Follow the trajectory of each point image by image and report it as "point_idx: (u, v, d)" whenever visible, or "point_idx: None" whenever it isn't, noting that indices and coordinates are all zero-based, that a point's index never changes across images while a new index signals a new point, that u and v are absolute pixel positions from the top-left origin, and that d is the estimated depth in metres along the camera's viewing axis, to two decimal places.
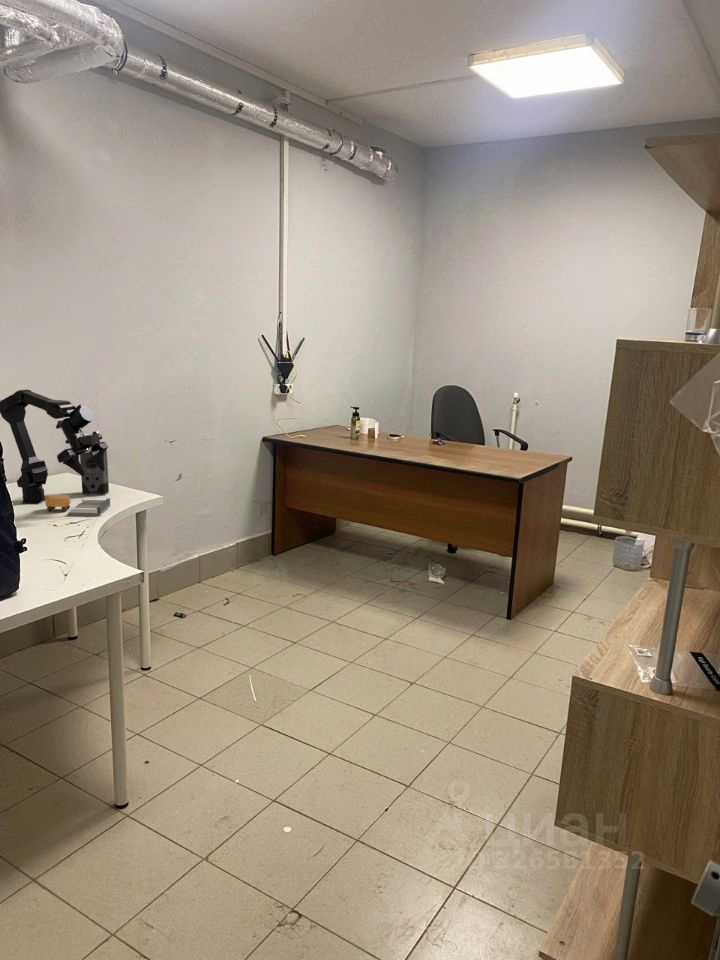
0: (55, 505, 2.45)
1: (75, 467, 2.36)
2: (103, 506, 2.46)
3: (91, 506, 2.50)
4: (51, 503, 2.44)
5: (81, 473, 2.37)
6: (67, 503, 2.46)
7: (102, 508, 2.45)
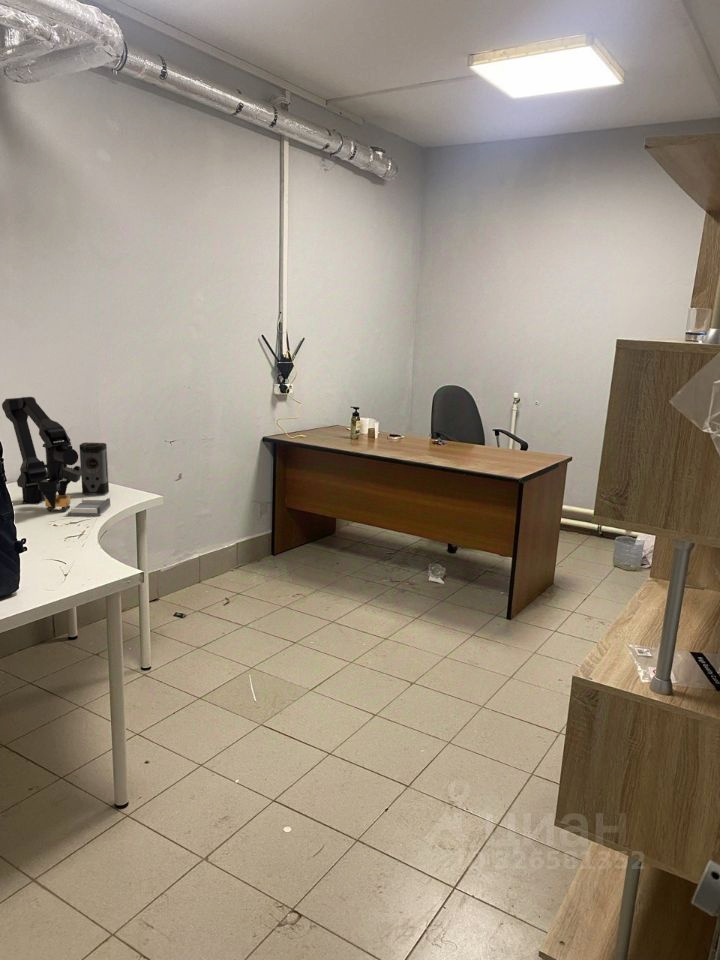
0: (55, 505, 2.45)
1: (50, 497, 2.40)
2: (103, 506, 2.46)
3: (91, 506, 2.50)
4: None
5: (52, 504, 2.42)
6: (67, 503, 2.46)
7: (102, 508, 2.45)
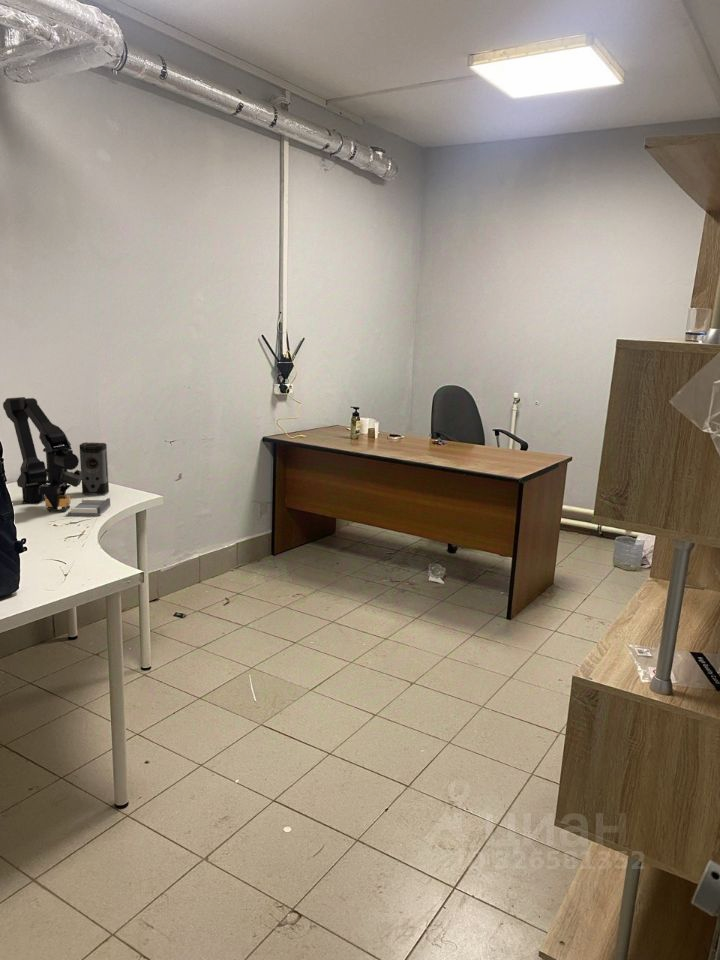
0: None
1: (52, 500, 2.43)
2: (103, 506, 2.46)
3: (91, 506, 2.50)
4: None
5: (55, 507, 2.44)
6: (67, 503, 2.46)
7: (102, 508, 2.45)
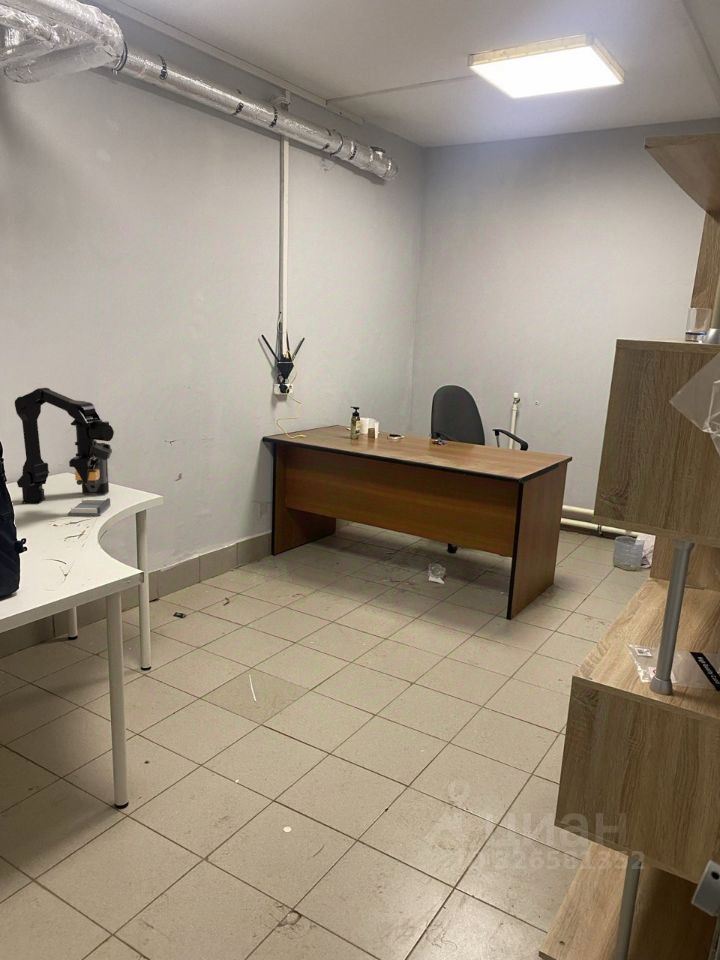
0: None
1: (82, 473, 2.41)
2: (103, 506, 2.46)
3: (91, 506, 2.50)
4: None
5: (85, 480, 2.43)
6: (97, 477, 2.45)
7: (102, 508, 2.45)
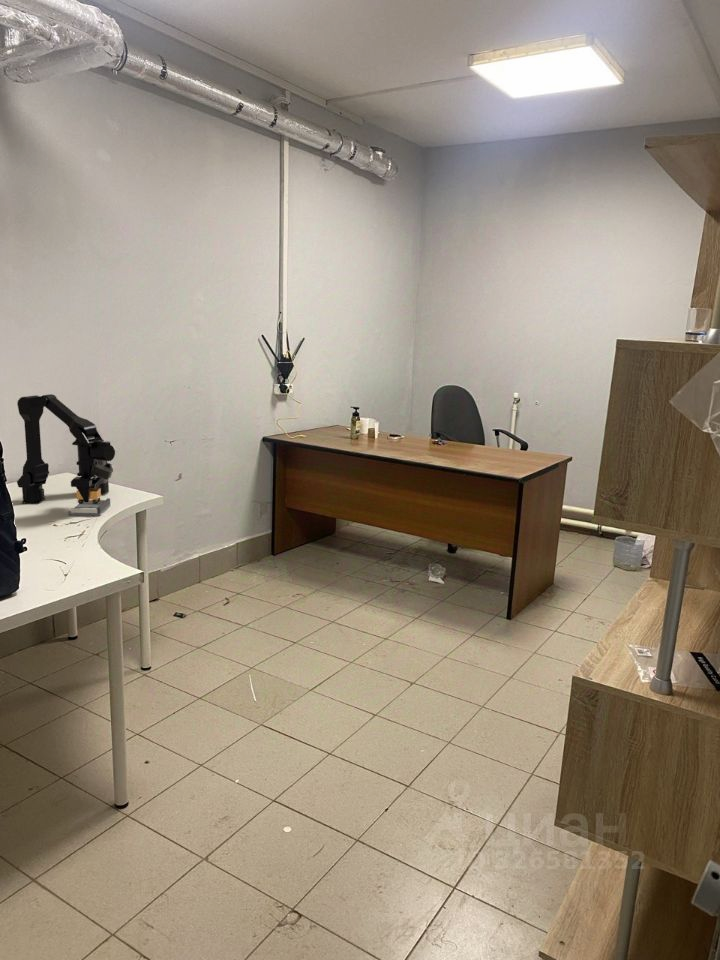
0: None
1: (83, 492, 2.43)
2: (103, 506, 2.46)
3: (91, 506, 2.50)
4: None
5: (86, 499, 2.44)
6: (98, 496, 2.47)
7: (102, 508, 2.45)
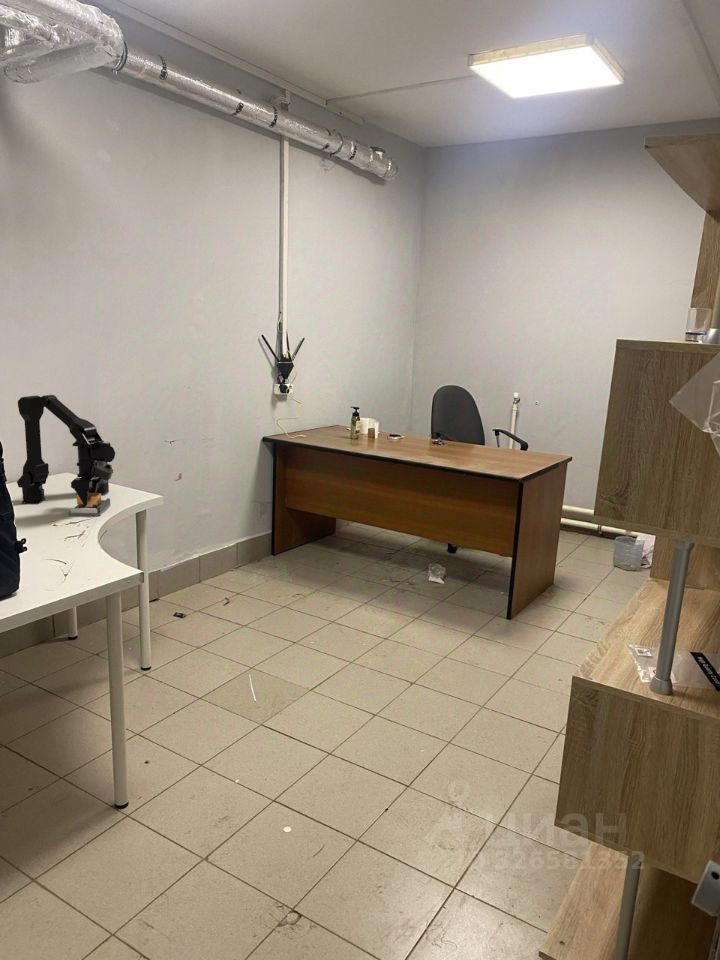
0: None
1: (82, 495, 2.41)
2: (103, 506, 2.46)
3: (91, 506, 2.50)
4: None
5: (84, 502, 2.43)
6: (98, 501, 2.47)
7: (102, 508, 2.45)
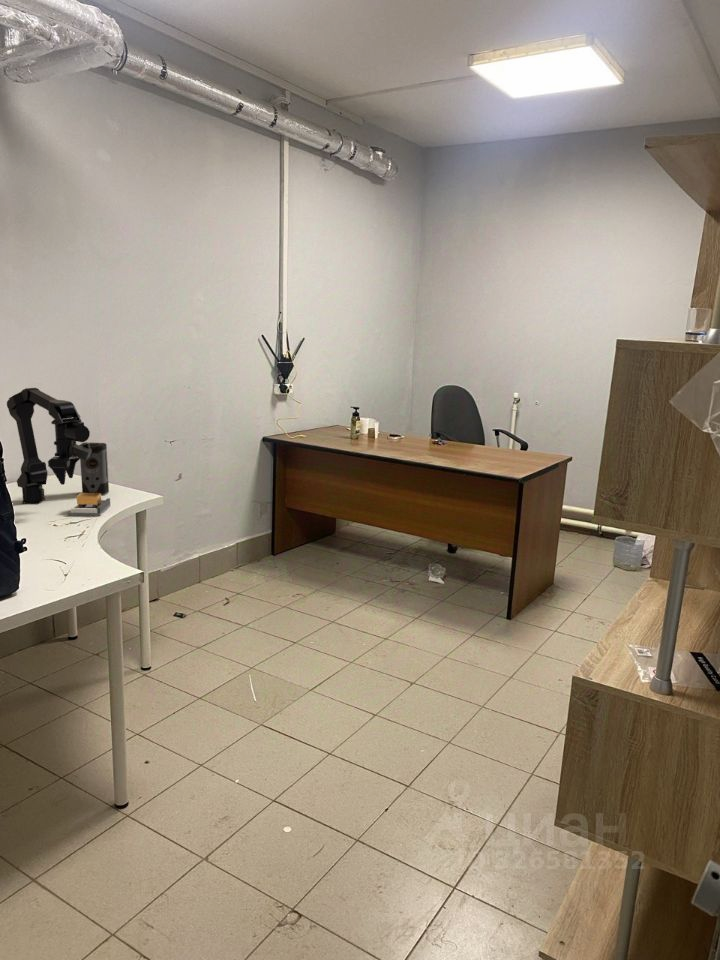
0: (86, 503, 2.45)
1: (59, 474, 2.37)
2: (103, 506, 2.46)
3: (91, 506, 2.50)
4: (82, 501, 2.45)
5: (62, 481, 2.38)
6: (98, 501, 2.47)
7: (102, 508, 2.45)
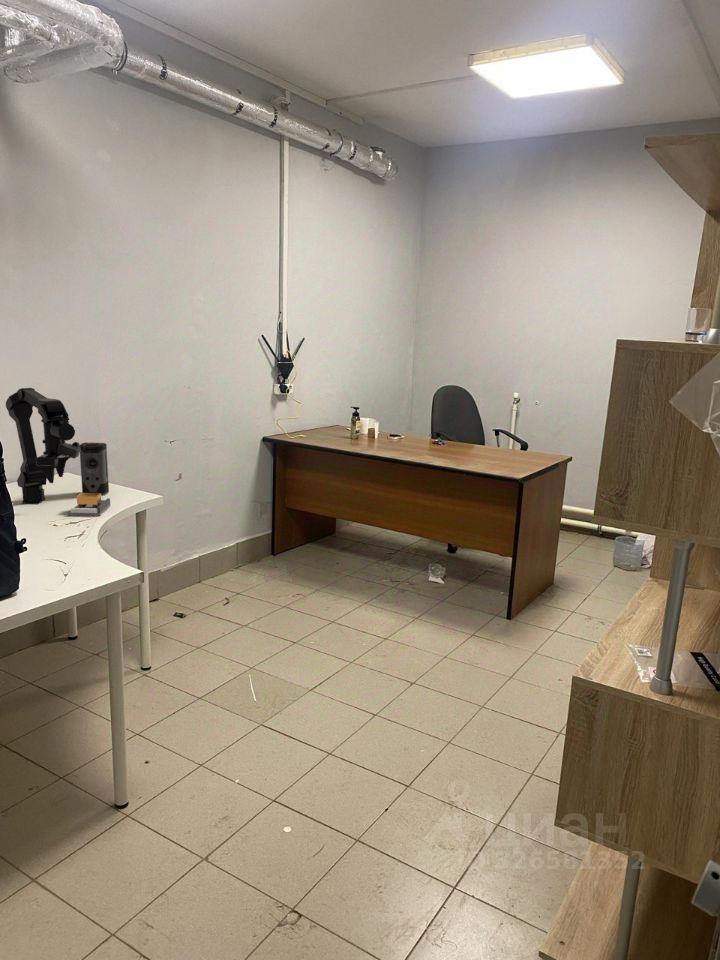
0: (86, 503, 2.45)
1: (48, 473, 2.35)
2: (103, 506, 2.46)
3: (91, 506, 2.50)
4: (82, 501, 2.45)
5: (50, 480, 2.37)
6: (98, 501, 2.47)
7: (102, 508, 2.45)
